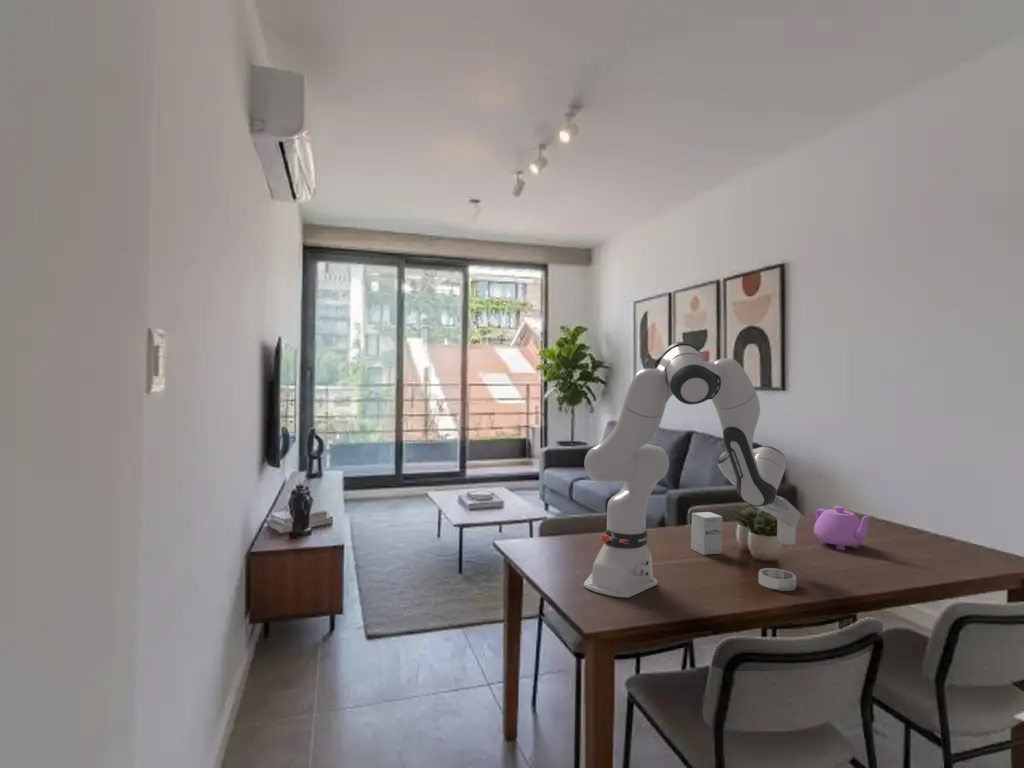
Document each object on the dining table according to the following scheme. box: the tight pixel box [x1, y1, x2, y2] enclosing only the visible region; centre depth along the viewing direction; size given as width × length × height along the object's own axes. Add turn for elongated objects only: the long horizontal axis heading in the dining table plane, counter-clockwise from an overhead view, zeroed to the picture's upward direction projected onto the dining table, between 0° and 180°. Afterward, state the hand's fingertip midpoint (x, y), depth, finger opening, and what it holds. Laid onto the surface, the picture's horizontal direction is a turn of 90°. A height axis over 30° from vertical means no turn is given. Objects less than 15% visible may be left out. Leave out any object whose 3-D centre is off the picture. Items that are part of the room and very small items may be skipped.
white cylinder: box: [776, 518, 797, 546], centre depth 166 cm, size 5×5×10 cm
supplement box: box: [690, 511, 723, 556], centre depth 186 cm, size 7×7×13 cm
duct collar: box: [758, 567, 797, 592], centre depth 156 cm, size 9×9×3 cm
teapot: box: [813, 505, 873, 551], centre depth 194 cm, size 22×16×14 cm
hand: (788, 522), depth 166 cm, fingers closed on white cylinder, 5 cm apart
